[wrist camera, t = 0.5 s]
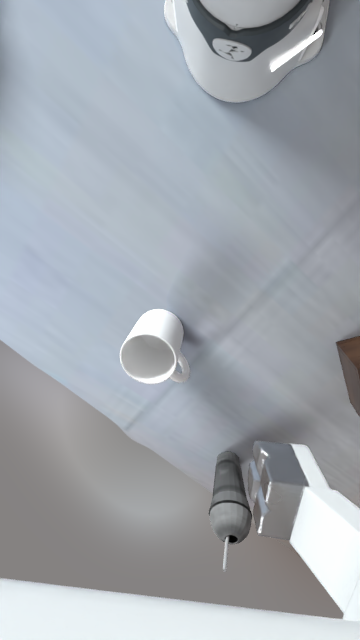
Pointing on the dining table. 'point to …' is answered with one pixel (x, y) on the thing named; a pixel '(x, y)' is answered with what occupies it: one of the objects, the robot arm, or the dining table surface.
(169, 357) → the mug
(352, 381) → the cabinet
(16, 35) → the dining table surface
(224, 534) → the beverage cup
